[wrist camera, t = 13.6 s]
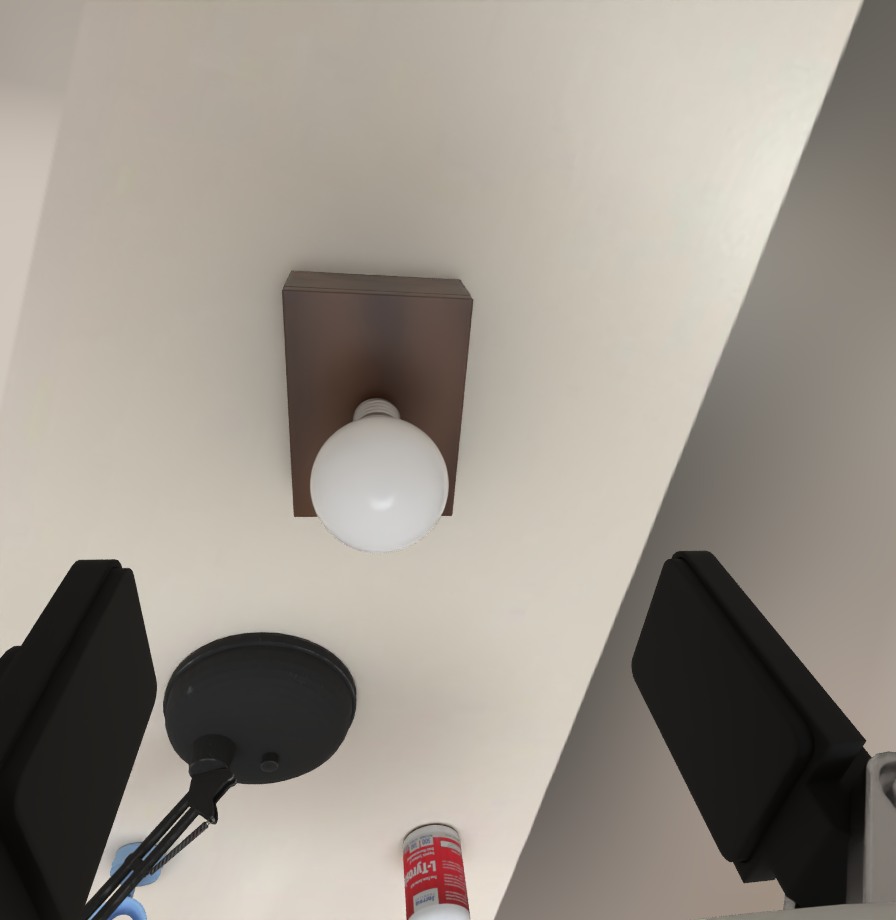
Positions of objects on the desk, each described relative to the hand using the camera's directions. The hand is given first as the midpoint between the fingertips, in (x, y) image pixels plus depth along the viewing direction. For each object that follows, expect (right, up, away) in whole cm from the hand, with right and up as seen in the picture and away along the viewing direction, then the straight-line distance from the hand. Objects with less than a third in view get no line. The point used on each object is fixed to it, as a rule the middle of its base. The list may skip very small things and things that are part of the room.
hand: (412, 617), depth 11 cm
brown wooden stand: (-4, +8, +28) cm, 29 cm away
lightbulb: (-4, +6, +24) cm, 25 cm away
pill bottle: (-1, -38, +54) cm, 66 cm away
